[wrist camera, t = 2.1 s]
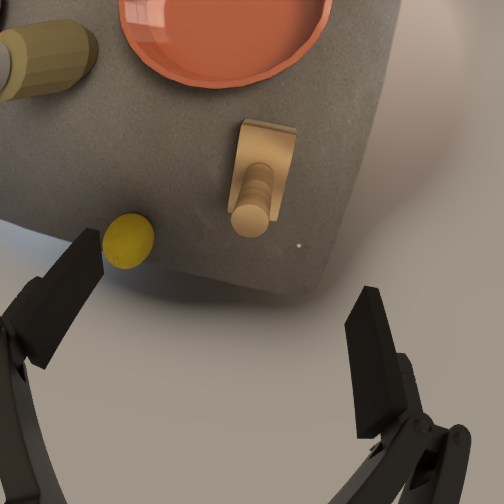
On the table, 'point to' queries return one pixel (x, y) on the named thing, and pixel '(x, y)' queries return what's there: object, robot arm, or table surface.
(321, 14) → the terracotta bowl
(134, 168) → the table surface
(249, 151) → the wooden peg stand
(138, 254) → the lemon
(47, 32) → the squeeze bottle
